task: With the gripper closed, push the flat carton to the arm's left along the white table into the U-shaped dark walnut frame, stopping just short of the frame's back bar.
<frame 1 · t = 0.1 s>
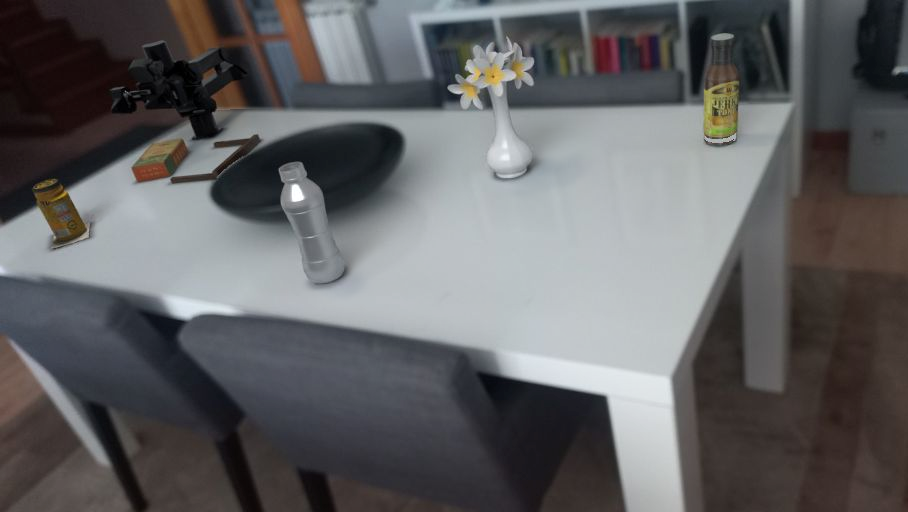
hand: (128, 109, 170), 17 cm above the table, tool horizontal, fingers open, 9 cm apart
sauce bottle: (720, 142, 140), on the table
plastic bottle: (328, 278, 120), on the table
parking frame: (216, 161, 180), on the table
flower vase: (512, 174, 143), on the table
carton: (164, 167, 183), on the table
condiment: (72, 237, 154), on the table
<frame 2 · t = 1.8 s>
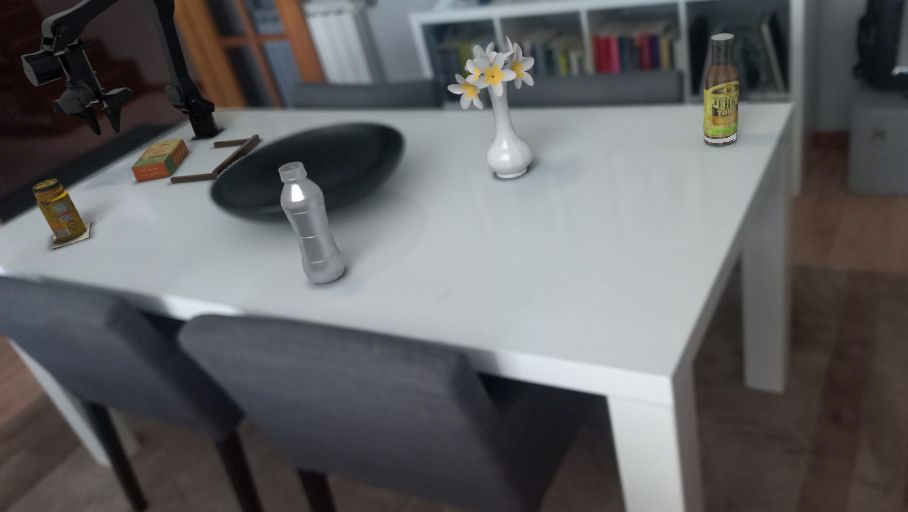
hand: (108, 134, 180), 10 cm above the table, tool pointing down, fingers open, 5 cm apart
nothing on the table moved.
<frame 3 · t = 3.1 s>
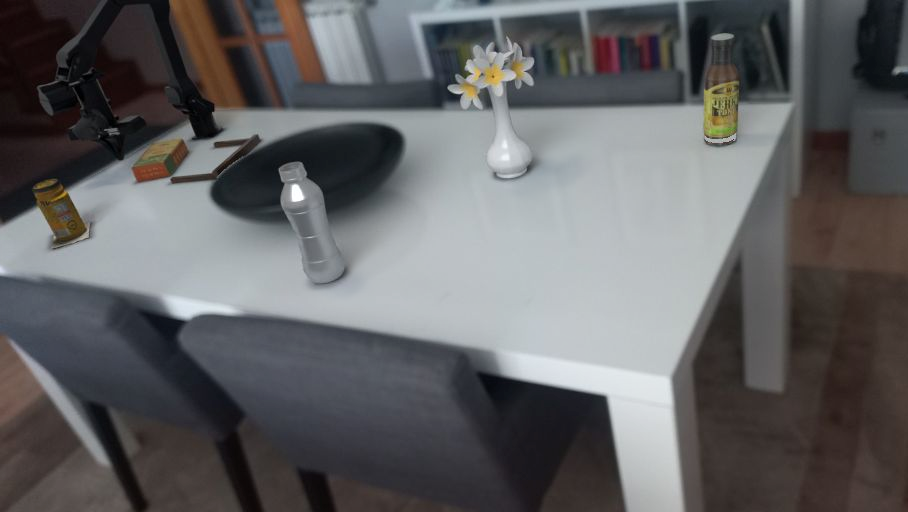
hand: (121, 160, 184), 3 cm above the table, tool pointing down, fingers closed
nothing on the table moved.
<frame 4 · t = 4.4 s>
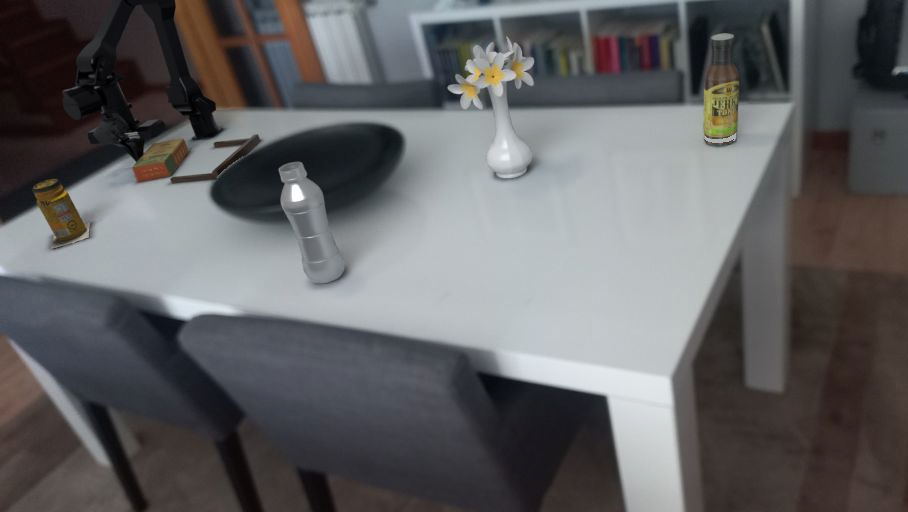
hand: (141, 163, 183), 1 cm above the table, tool pointing down, fingers closed
carton: (165, 167, 183), on the table, touching gripper
everything else where it was.
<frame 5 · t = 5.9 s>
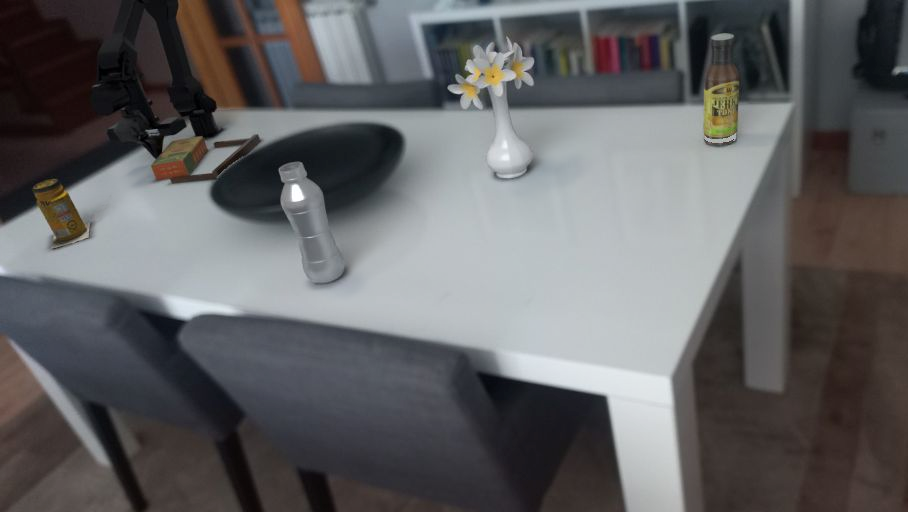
hand: (160, 161, 182), 2 cm above the table, tool pointing down, fingers closed
carton: (183, 165, 182), on the table, touching gripper
everything else where it was.
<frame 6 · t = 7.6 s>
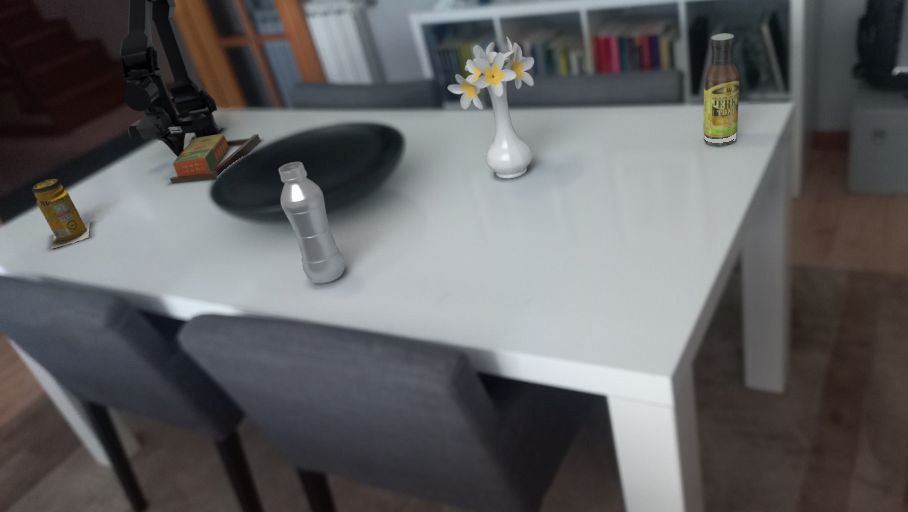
hand: (181, 158, 181), 2 cm above the table, tool pointing down, fingers closed
carton: (205, 163, 180), on the table, touching gripper
everything else where it was.
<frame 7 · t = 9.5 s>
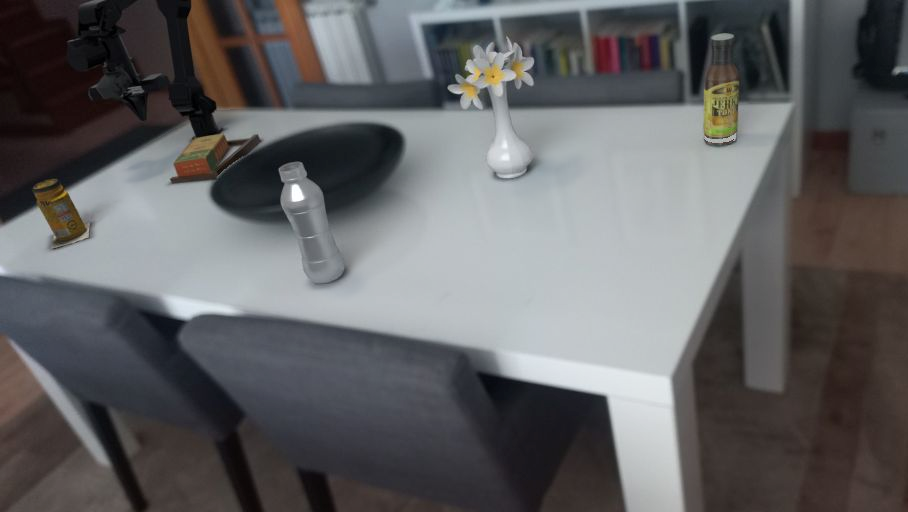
hand: (144, 120, 180), 11 cm above the table, tool pointing down, fingers closed
carton: (205, 163, 180), on the table
everything else where it was.
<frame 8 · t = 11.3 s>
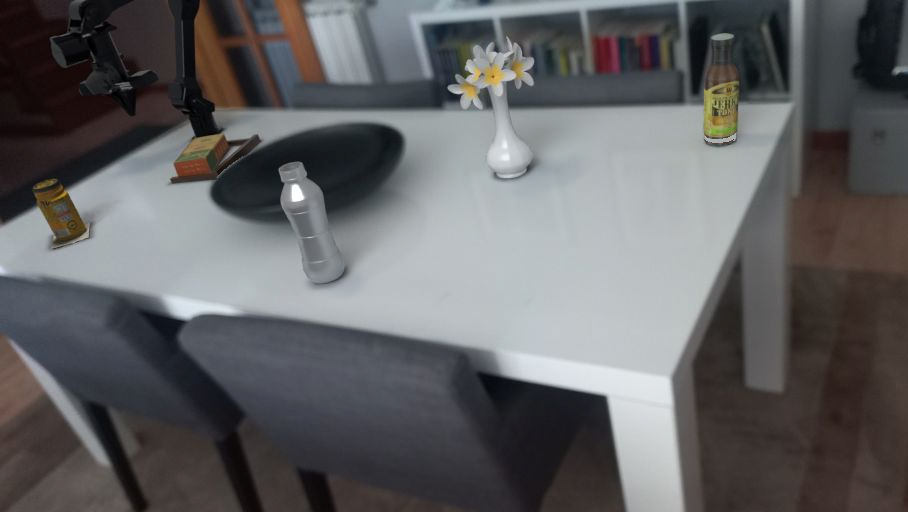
hand: (133, 115, 183), 12 cm above the table, tool pointing down, fingers closed
nothing on the table moved.
at the end: carton 1.7 cm from the target spot, on the table; carton moved 11.8 cm from its start; carton tilted 2° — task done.
